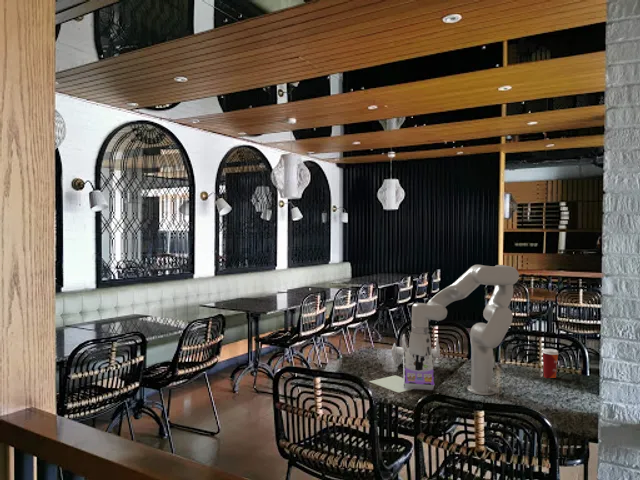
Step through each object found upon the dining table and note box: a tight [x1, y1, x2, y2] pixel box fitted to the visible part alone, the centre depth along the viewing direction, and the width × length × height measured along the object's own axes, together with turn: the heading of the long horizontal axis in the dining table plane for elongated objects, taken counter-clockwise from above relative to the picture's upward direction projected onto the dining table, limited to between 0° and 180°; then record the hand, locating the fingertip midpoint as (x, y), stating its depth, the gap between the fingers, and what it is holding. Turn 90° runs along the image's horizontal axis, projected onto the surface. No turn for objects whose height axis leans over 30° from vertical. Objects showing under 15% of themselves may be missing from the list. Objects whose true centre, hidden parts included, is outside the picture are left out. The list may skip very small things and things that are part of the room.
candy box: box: [402, 351, 436, 391], centre depth 232 cm, size 14×6×16 cm
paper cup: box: [541, 348, 559, 379], centre depth 251 cm, size 8×8×14 cm
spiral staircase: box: [391, 333, 441, 368], centre depth 267 cm, size 18×18×25 cm
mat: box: [368, 375, 413, 394], centre depth 237 cm, size 20×18×1 cm
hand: (418, 369), depth 225 cm, fingers closed
